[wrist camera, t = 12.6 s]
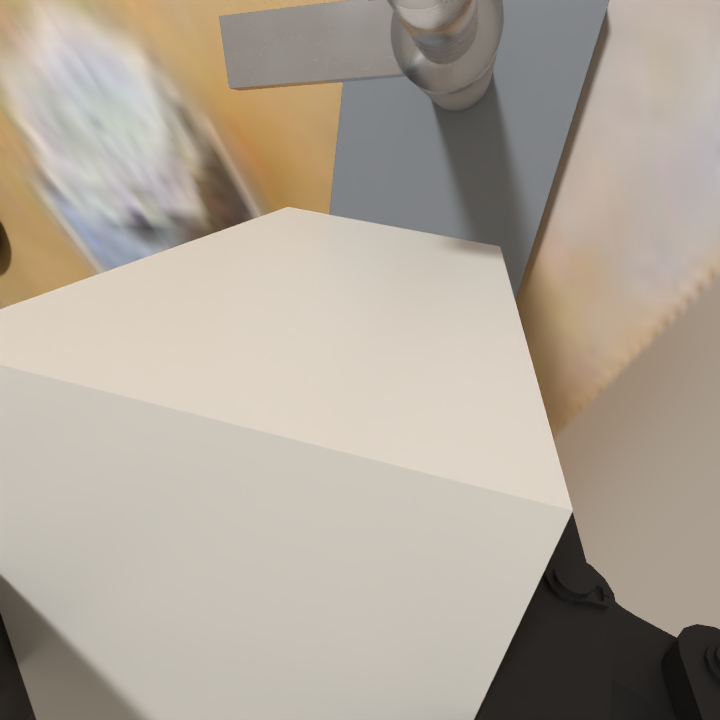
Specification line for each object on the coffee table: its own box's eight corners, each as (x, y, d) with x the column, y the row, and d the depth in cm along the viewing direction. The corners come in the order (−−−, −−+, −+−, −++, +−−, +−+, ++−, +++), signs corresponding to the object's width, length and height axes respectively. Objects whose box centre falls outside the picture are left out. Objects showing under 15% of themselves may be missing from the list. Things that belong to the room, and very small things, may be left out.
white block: (436, 475, 16) (392, 890, 7) (272, 434, 17) (50, 761, 8) (500, 246, 12) (571, 510, 4) (287, 207, 13) (-91, 341, 4)
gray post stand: (469, 438, 34) (467, 564, 24) (313, 399, 35) (249, 503, 25) (605, -2, 22) (715, -121, 12) (361, -29, 23) (275, -154, 13)
